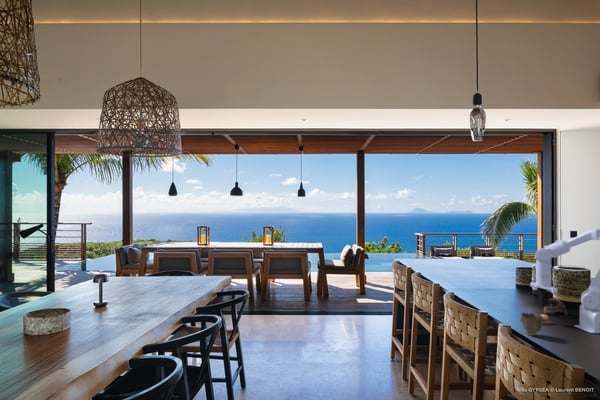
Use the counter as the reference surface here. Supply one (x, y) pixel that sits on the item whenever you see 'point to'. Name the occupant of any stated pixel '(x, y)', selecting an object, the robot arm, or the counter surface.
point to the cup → (532, 323)
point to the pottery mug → (555, 306)
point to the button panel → (542, 321)
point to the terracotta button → (545, 317)
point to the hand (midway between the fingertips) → (543, 306)
